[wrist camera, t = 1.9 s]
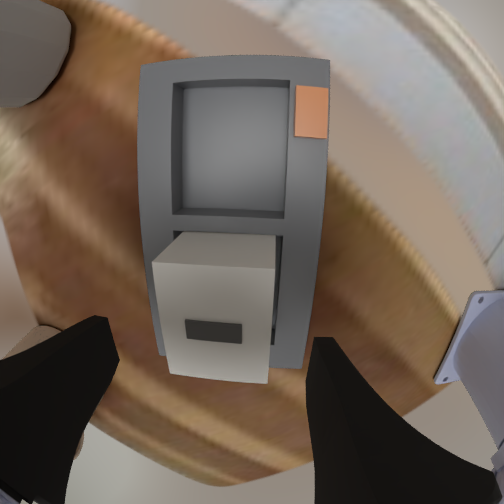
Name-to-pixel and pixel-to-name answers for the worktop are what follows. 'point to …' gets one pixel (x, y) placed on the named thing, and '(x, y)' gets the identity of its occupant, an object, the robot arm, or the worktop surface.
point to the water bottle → (30, 49)
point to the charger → (217, 304)
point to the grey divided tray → (238, 169)
